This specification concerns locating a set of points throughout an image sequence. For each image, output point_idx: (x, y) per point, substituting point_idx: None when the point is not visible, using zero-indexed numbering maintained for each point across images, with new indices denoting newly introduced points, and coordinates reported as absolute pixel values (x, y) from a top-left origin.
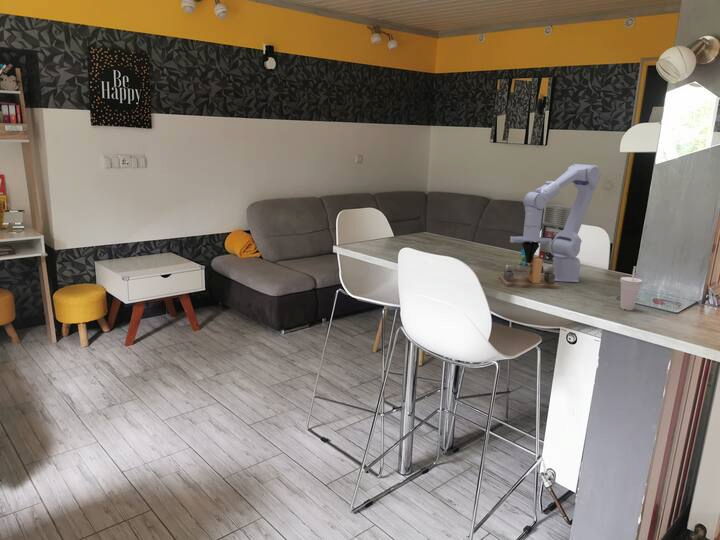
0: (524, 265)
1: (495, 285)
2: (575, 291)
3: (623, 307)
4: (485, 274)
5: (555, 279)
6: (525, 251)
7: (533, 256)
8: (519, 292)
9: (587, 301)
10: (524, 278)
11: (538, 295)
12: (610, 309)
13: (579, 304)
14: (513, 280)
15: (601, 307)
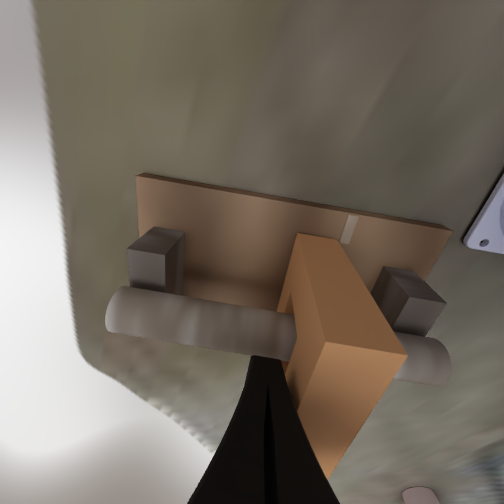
0: (237, 345)
1: (107, 304)
2: (413, 384)
3: (404, 502)
4: (63, 43)
5: (487, 235)
6: (224, 459)
7: (337, 391)
8: (182, 382)
9: (358, 454)
10: (278, 240)
11: (235, 408)
12: (367, 491)
13: None
14: (195, 280)
15: (356, 482)
